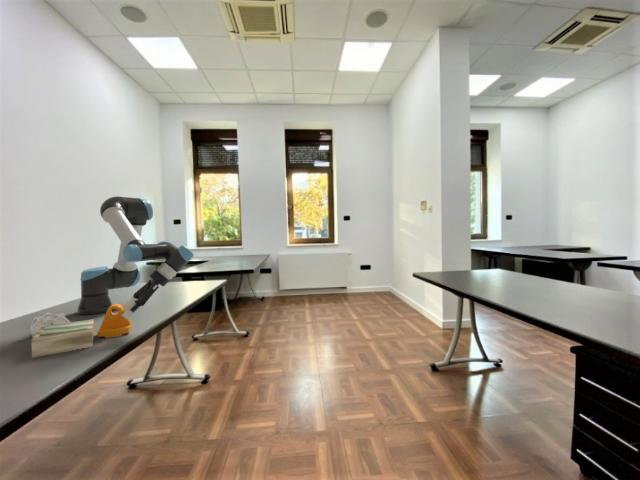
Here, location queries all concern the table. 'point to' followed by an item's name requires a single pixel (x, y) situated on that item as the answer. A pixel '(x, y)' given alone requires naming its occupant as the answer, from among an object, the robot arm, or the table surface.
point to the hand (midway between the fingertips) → (123, 313)
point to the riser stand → (63, 338)
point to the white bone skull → (47, 321)
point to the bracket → (114, 323)
